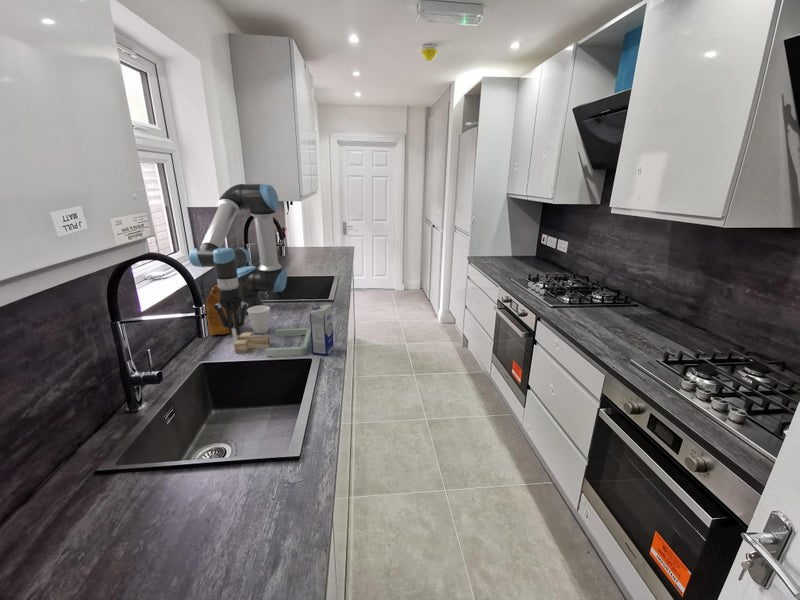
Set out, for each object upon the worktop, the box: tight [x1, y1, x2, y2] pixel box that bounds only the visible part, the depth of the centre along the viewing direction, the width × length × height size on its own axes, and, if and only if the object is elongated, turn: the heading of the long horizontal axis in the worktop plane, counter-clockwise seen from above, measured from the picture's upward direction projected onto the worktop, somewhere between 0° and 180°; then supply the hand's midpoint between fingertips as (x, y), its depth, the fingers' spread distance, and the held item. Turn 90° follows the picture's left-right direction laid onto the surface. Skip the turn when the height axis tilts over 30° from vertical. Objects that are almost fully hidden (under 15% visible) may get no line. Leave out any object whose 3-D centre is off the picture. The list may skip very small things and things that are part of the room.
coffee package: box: [205, 283, 235, 337], centre depth 161 cm, size 10×12×22 cm
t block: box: [233, 331, 271, 354], centre depth 150 cm, size 12×12×4 cm
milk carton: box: [308, 304, 335, 357], centre depth 143 cm, size 7×7×20 cm
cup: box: [247, 305, 271, 335], centre depth 164 cm, size 10×10×11 cm
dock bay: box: [265, 327, 311, 357], centre depth 152 cm, size 21×16×3 cm
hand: (236, 341), depth 149 cm, fingers closed
